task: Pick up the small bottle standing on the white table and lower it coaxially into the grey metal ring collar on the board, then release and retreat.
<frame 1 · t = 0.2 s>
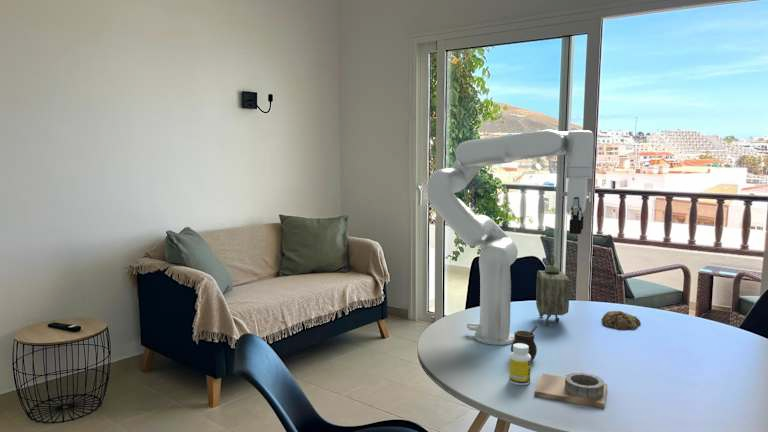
hand: (576, 231, 162), 36 cm above the table, tool pointing down, fingers open, 9 cm apart
supplement bottle: (519, 382, 144), on the table
bread roll: (619, 325, 191), on the table
collar board: (571, 392, 137), on the table
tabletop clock: (551, 322, 194), on the table
mate gourd: (523, 360, 159), on the table
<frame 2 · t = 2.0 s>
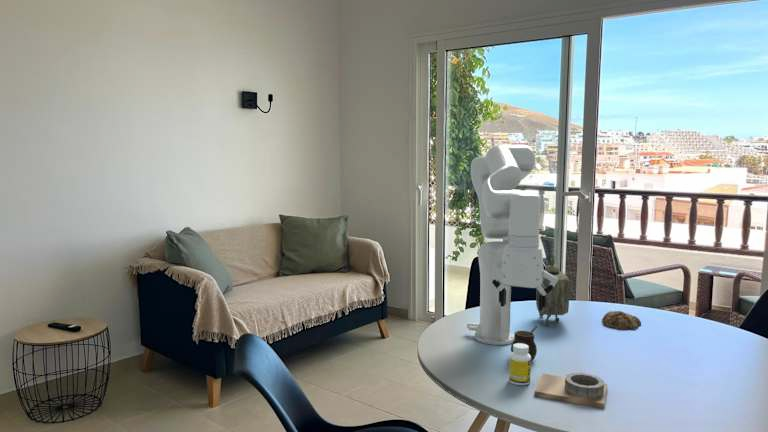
hand: (521, 307, 141), 20 cm above the table, tool pointing down, fingers open, 9 cm apart
nothing on the table moved.
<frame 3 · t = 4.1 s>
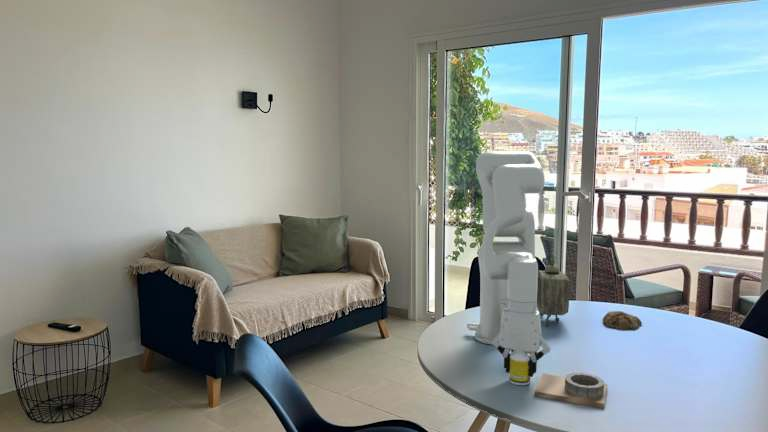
hand: (519, 372, 143), 3 cm above the table, tool pointing down, fingers closed on supplement bottle, 5 cm apart
supplement bottle: (519, 382, 144), on the table, touching gripper
everything else where it was.
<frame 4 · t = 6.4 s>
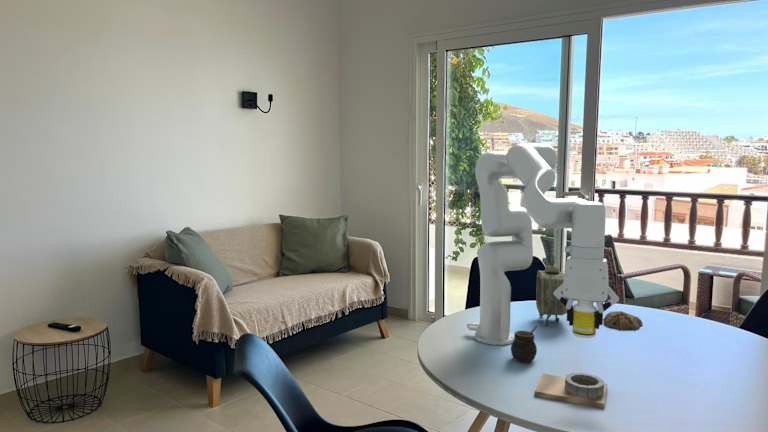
hand: (584, 325, 134), 18 cm above the table, tool pointing down, fingers closed on supplement bottle, 5 cm apart
supplement bottle: (583, 335, 134), point 15 cm above the table, touching gripper
everything else where it was.
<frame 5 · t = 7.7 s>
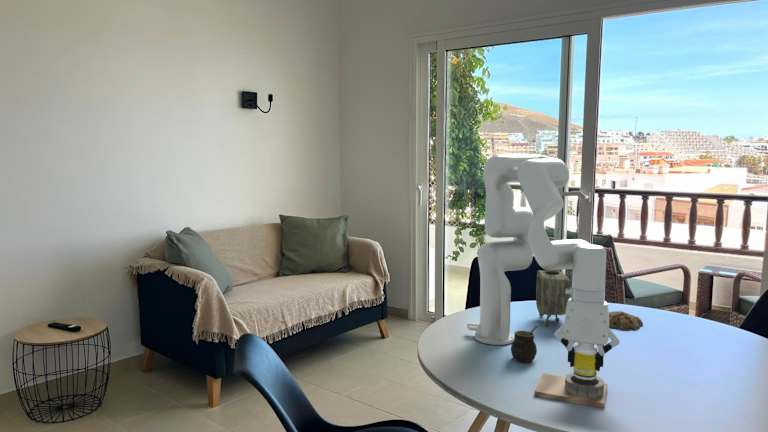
hand: (585, 366, 135), 7 cm above the table, tool pointing down, fingers closed on supplement bottle, 5 cm apart
supplement bottle: (584, 377, 135), point 5 cm above the table, touching gripper
everything else where it was.
when the fingers open (5 cm above the table, at t = 8.5 s): supplement bottle drops 1 cm, resting on collar board.
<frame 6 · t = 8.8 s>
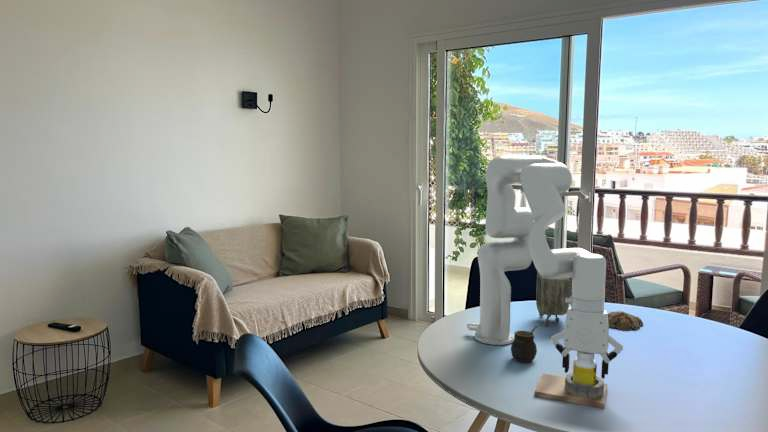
hand: (584, 373, 135), 5 cm above the table, tool pointing down, fingers open, 8 cm apart
supplement bottle: (583, 390, 136), point 1 cm above the table, touching collar board
everything else where it was.
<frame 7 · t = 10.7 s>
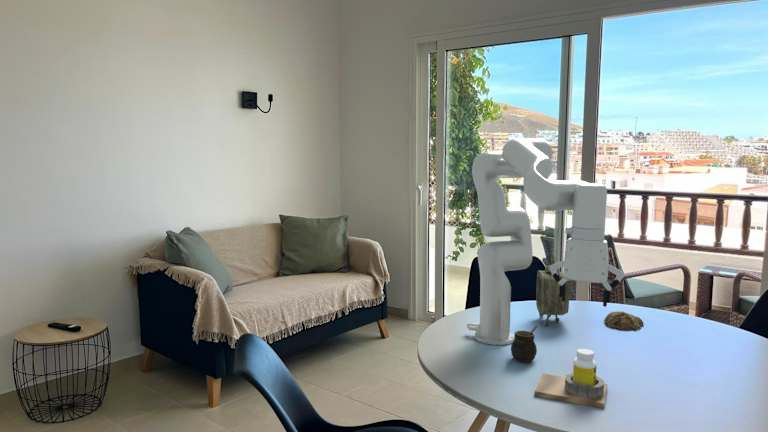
hand: (584, 302, 135), 23 cm above the table, tool pointing down, fingers open, 9 cm apart
nothing on the table moved.
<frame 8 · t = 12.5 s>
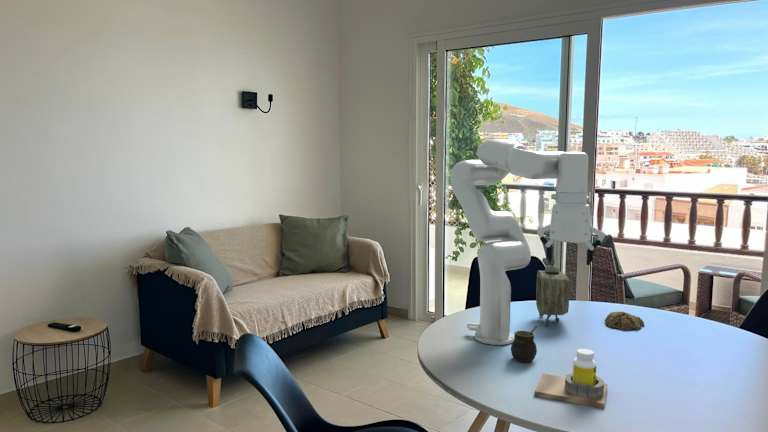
hand: (569, 262, 147), 30 cm above the table, tool pointing down, fingers open, 9 cm apart
at the end: supplement bottle 0.1 cm from the target spot, point 1.0 cm above the table; supplement bottle tilted 0°; the gripper is holding nothing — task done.
